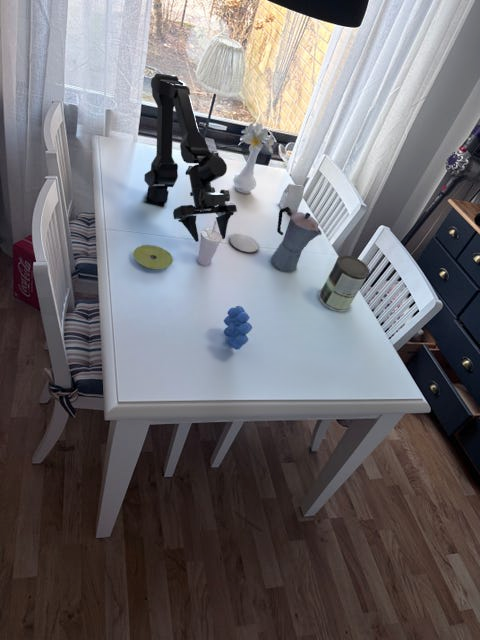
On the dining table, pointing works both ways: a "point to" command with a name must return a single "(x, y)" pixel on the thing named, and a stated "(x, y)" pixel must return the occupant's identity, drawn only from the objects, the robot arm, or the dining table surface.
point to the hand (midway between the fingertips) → (210, 240)
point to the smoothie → (208, 245)
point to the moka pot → (294, 239)
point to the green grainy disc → (153, 257)
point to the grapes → (237, 327)
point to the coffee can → (343, 283)
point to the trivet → (243, 243)
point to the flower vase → (252, 156)
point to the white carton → (292, 197)
